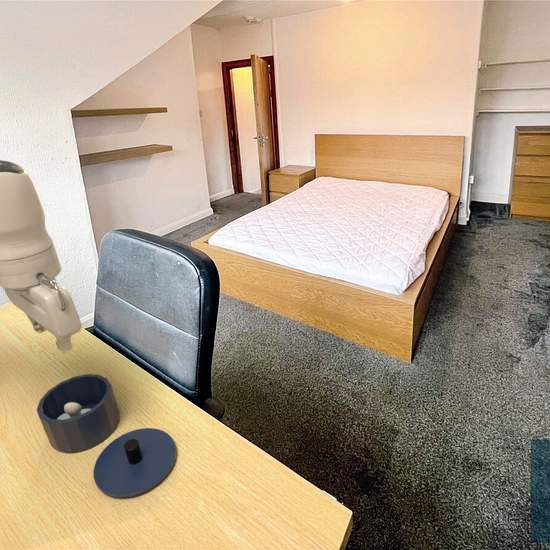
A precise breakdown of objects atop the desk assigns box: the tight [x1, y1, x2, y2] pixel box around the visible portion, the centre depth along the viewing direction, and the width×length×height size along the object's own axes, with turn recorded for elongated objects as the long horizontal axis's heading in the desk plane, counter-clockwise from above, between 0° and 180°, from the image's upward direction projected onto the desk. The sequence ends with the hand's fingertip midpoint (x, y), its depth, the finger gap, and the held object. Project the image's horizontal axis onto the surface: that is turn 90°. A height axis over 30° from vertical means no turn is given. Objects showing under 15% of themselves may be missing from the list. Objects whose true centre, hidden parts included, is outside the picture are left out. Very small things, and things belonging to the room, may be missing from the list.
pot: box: [36, 373, 121, 454], centre depth 77 cm, size 13×13×8 cm
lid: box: [93, 427, 177, 498], centre depth 70 cm, size 14×14×5 cm
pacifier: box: [57, 402, 91, 420], centre depth 78 cm, size 7×6×6 cm
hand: (53, 339), depth 70 cm, fingers open, 8 cm apart
